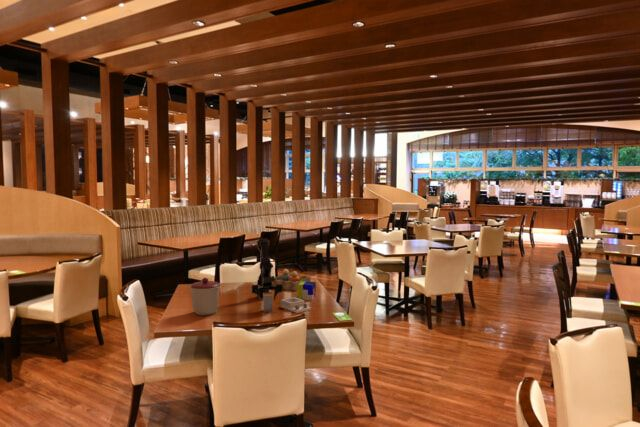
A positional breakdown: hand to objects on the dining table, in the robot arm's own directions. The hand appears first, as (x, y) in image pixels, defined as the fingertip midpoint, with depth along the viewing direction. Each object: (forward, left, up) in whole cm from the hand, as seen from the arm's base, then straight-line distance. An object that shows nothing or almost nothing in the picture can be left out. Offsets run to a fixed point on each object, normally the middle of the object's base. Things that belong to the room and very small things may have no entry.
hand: (267, 300), depth 265 cm
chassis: (+12, +13, -7) cm, 19 cm away
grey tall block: (-1, +1, -7) cm, 7 cm away
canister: (-32, -18, -7) cm, 37 cm away
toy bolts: (-18, +68, -7) cm, 70 cm away
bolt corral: (-19, +66, -7) cm, 69 cm away
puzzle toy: (+7, +40, -7) cm, 41 cm away
